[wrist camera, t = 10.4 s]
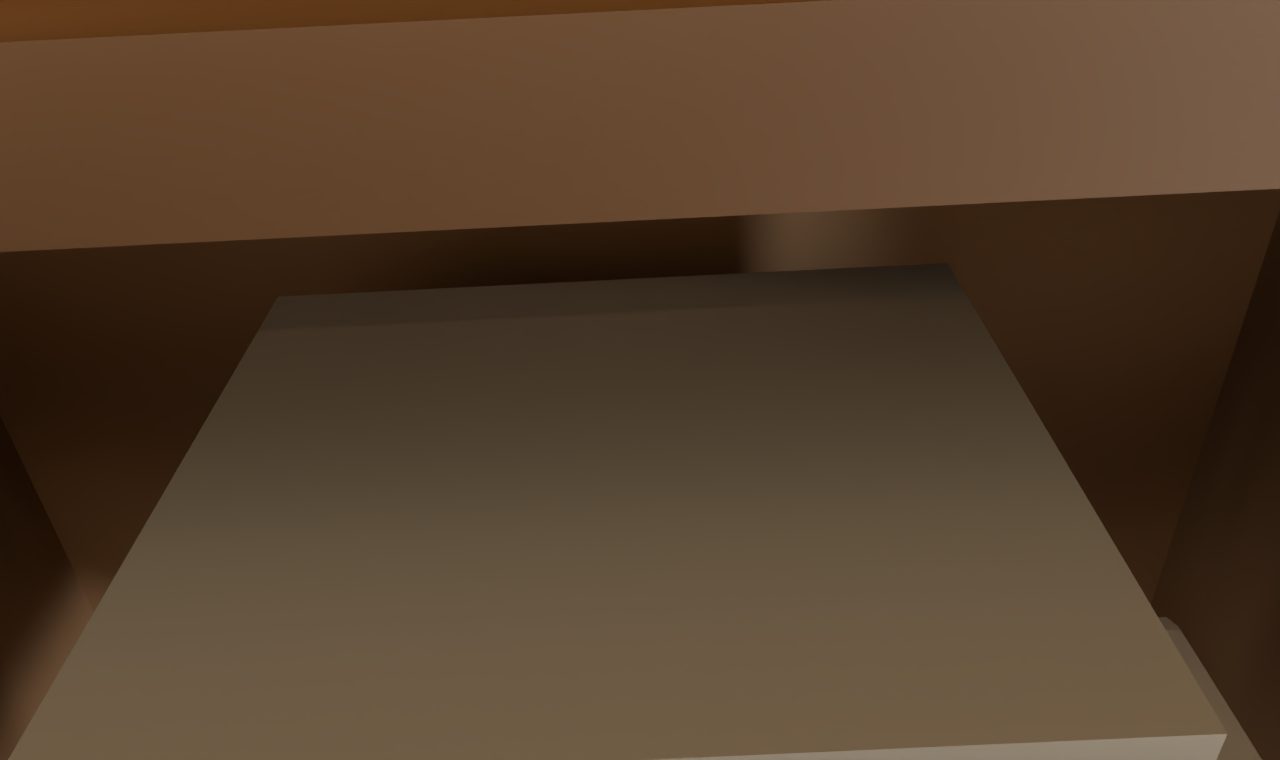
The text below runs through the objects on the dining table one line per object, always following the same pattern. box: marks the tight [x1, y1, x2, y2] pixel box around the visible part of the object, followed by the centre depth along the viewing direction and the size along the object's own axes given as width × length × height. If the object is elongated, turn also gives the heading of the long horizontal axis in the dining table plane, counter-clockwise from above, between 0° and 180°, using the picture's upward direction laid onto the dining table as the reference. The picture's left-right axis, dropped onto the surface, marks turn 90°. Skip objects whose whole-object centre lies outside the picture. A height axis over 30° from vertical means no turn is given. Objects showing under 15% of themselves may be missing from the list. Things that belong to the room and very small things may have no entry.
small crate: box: [8, 263, 1227, 760], centre depth 9 cm, size 6×6×5 cm
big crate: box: [0, 0, 1280, 760], centre depth 10 cm, size 12×16×6 cm
